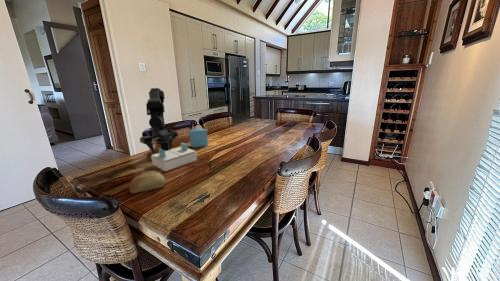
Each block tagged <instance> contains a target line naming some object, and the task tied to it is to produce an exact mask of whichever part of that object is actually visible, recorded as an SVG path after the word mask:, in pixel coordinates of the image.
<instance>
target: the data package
mask: <svg viewBox="0 0 500 281" xmlns="http://www.w3.org/2000/svg"><path fill="white" fill-rule="evenodd" d="M188 135H189V143H190V147H191V148H200V147H207V146H208V145H209V143H208V133H207V130H206V129H205V128H199V129H190V130H189V134H188Z"/></svg>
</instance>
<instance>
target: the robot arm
mask: <svg viewBox="0 0 500 281" xmlns="http://www.w3.org/2000/svg"><path fill="white" fill-rule="evenodd" d="M149 89H150V91H148V95H149V96H148V97H149V99H148V100H147V102H146V104H145V105H146V106H145V107H146V115H147V116H150V118H149V120H148V124H149V127H150V128H151V129H152V134H151V135H152V136H148V135H145V136H141V137H140V138H139V143H142V144H143V145H146V146H147V147H148V149H149V150H150V152H151V153H152V155H153V154H155V149H154V142H153V141H154V140H155V141H156V144H157V145H159V146H160V148H159V149H163V150H165V151H168V150H171V148H172V145H173V141H174V140H175V139H176V138H177V137H178V136H179V135H178V134H179V133H178V131H175V130H173V129H172V128H169V129H168V128H166V124H165V118H164V113H165V104H164V103H165V98H166V97H165V92H164V90H161V89H160V88H158V87H151V88H149Z"/></svg>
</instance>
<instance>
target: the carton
mask: <svg viewBox="0 0 500 281" xmlns="http://www.w3.org/2000/svg"><path fill="white" fill-rule="evenodd" d="M150 157H151V161H152V162H151V163H152V166H155V167H156V168H159V169H160V170H163V171H164V172H167V171H170V170H174V169H177V168H179V167H182V166H184V165H188V164H191V163H193V162H196V161H197V160H198V158H197V157H198V156H197V152H193V153H190V154H187V155H184V156H180V157H178V158H174V159H171V160H168V161H165V162H163V161H161V160H159V159H157V158H155V157H153V156H152V155H151V156H150Z"/></svg>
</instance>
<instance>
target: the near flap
mask: <svg viewBox="0 0 500 281" xmlns="http://www.w3.org/2000/svg"><path fill="white" fill-rule="evenodd" d="M157 150H158V153H154V154H153V153H152V154H151V156H153V157H155V158H157V159H159V160H161V161H163V162H165V161H168V160H171V159H174V158H178V157H180V156H179V155H177V154H174V153H172V152H170V151H165V150H163V149H160V148H158V149H157Z"/></svg>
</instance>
